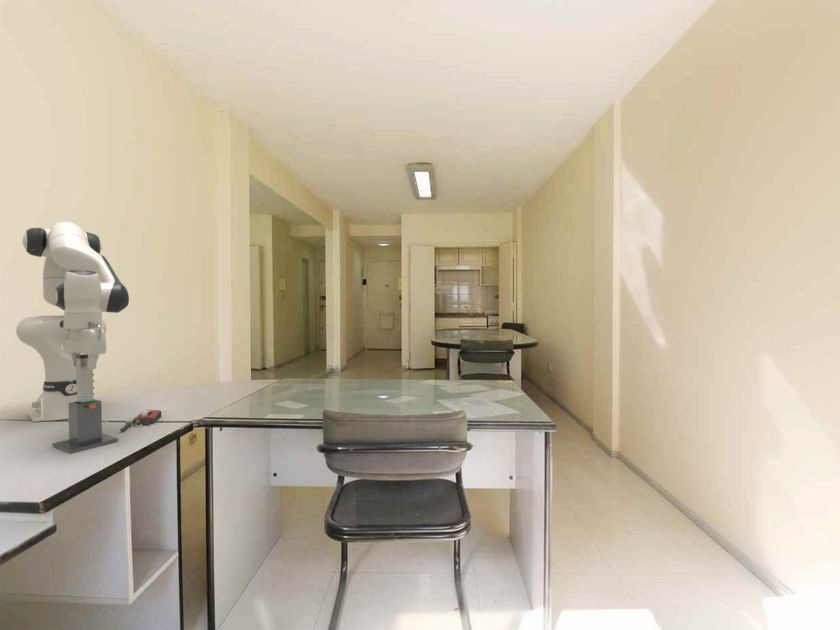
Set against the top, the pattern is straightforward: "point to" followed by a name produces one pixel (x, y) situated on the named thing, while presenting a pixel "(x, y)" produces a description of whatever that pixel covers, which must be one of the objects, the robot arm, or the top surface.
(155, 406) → the top surface
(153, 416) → the walkie-talkie
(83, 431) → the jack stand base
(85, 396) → the column
